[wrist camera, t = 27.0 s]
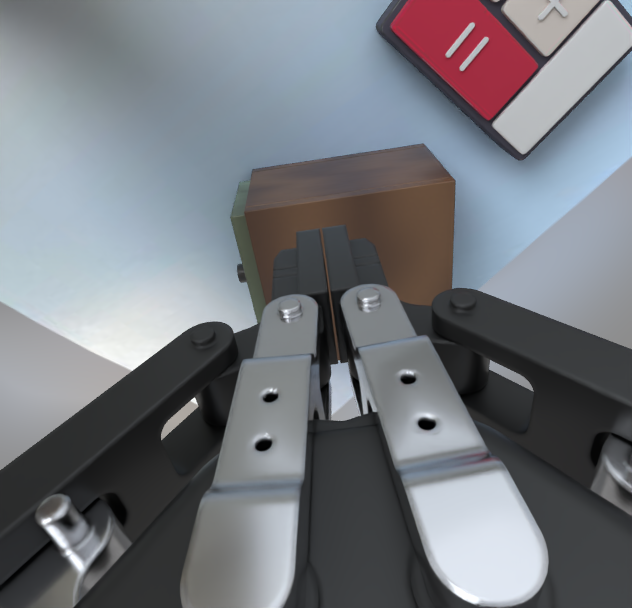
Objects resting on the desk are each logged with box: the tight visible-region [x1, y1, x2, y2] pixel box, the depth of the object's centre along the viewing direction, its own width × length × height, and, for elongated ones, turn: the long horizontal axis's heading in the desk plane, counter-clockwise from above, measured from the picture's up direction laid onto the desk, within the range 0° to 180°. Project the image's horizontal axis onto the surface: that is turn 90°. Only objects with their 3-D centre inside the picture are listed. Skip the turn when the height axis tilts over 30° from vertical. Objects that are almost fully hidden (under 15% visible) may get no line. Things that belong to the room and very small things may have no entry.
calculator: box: [376, 0, 632, 160], centre depth 33 cm, size 11×4×15 cm
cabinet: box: [244, 144, 455, 360], centre depth 40 cm, size 15×15×9 cm
